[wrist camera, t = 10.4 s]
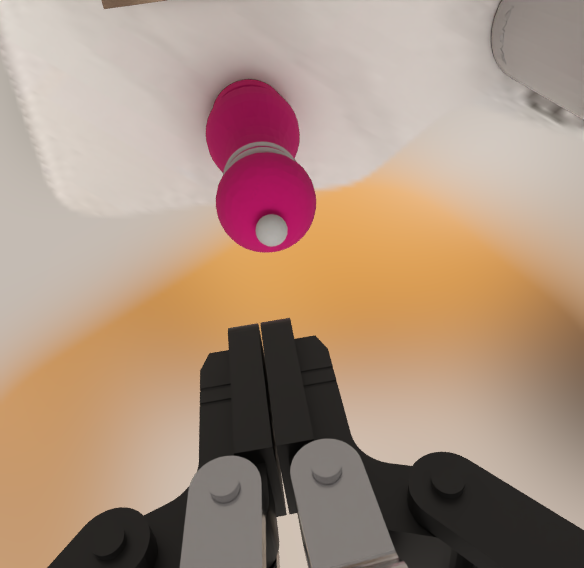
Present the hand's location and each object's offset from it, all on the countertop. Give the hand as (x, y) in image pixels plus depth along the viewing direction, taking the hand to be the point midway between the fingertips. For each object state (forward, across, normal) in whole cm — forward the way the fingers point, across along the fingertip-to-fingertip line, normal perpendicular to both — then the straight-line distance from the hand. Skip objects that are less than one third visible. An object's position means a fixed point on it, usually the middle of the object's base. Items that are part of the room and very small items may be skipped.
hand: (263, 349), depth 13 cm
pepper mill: (+35, -1, +6) cm, 36 cm away
